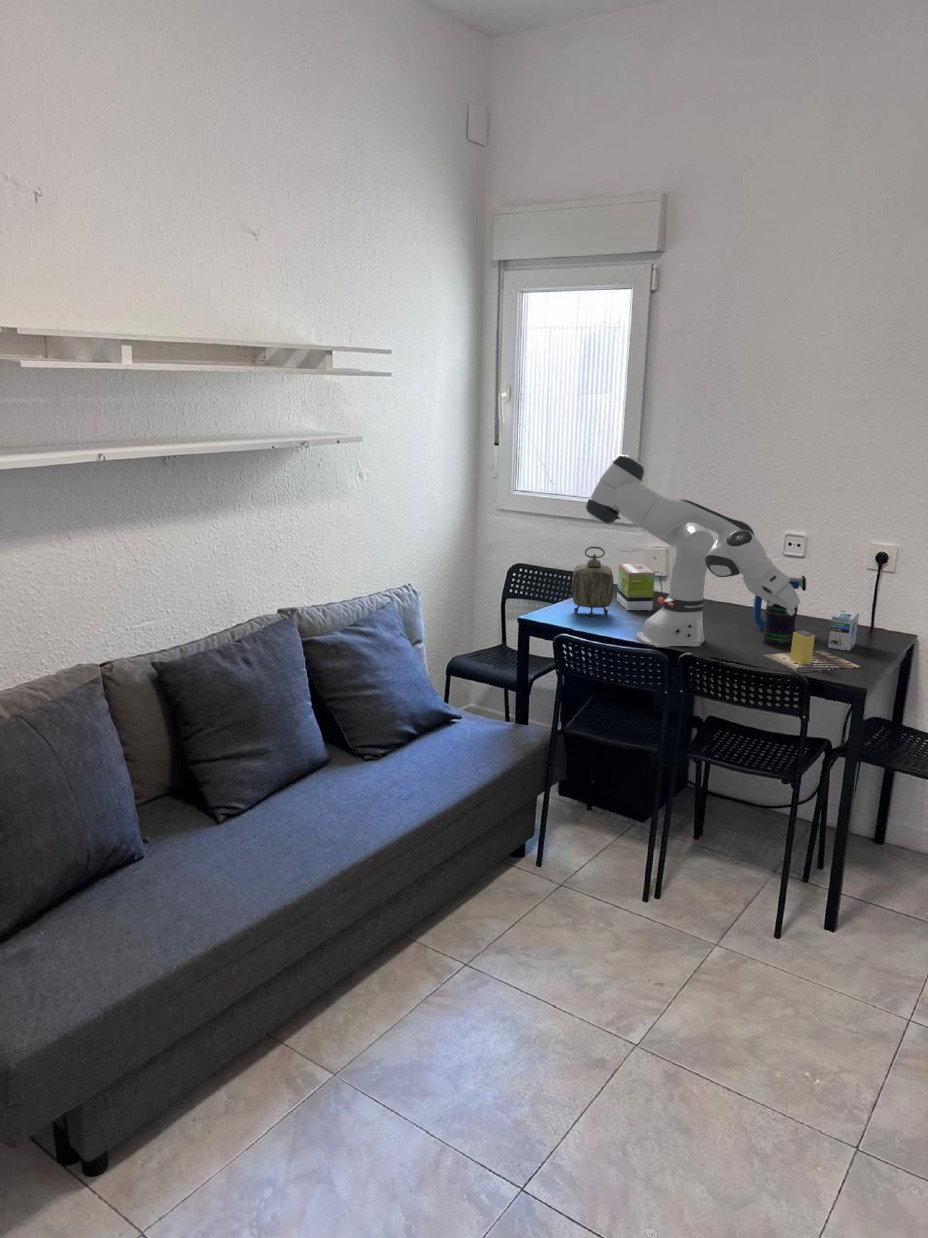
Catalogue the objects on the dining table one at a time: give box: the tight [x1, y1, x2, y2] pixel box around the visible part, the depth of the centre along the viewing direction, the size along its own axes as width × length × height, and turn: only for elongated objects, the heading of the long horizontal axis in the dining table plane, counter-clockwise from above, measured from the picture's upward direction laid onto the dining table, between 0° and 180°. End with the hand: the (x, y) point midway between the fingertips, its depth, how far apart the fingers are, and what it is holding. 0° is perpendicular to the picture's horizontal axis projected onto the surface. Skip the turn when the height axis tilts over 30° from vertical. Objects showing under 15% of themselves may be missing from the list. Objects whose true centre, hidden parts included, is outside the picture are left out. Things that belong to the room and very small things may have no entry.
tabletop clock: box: [571, 546, 615, 617], centre depth 335 cm, size 14×9×25 cm, turn 84°
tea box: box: [616, 563, 656, 611], centre depth 350 cm, size 15×10×15 cm
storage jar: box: [762, 603, 799, 649], centre depth 307 cm, size 10×10×15 cm
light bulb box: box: [827, 609, 860, 652], centre depth 306 cm, size 11×7×11 cm, turn 148°
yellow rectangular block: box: [790, 630, 816, 665], centre depth 288 cm, size 4×5×9 cm
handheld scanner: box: [752, 575, 807, 631], centre depth 321 cm, size 5×16×20 cm, turn 79°
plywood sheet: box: [763, 650, 861, 672], centre depth 291 cm, size 22×18×1 cm
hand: (781, 608), depth 280 cm, fingers open, 8 cm apart
